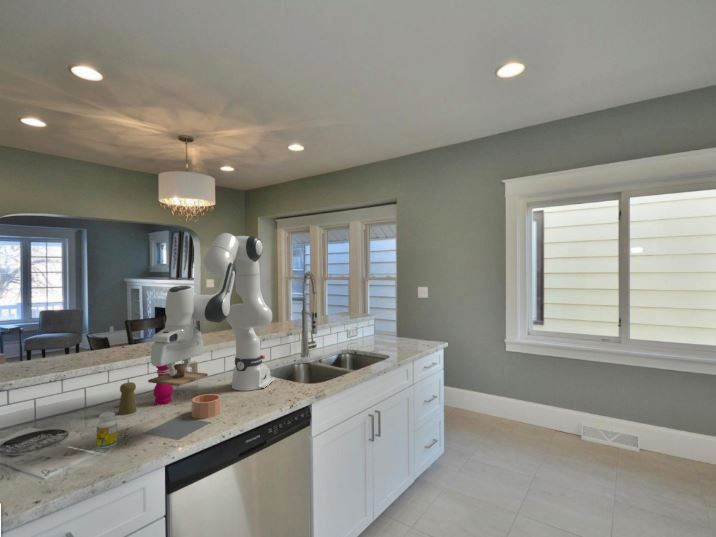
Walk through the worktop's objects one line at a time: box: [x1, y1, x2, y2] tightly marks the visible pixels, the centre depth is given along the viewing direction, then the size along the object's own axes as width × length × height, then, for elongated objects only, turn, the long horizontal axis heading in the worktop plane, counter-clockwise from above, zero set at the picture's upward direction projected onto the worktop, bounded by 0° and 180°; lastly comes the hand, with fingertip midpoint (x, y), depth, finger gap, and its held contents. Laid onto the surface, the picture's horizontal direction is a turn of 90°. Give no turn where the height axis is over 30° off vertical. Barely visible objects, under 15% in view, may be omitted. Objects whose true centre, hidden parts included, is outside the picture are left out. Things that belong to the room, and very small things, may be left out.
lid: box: [147, 363, 208, 387], centre depth 128 cm, size 13×13×5 cm
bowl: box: [191, 393, 222, 420], centre depth 141 cm, size 10×10×6 cm
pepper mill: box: [152, 365, 174, 406], centre depth 154 cm, size 7×7×20 cm
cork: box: [117, 381, 137, 416], centre depth 142 cm, size 6×6×11 cm
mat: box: [142, 416, 212, 441], centre depth 127 cm, size 15×15×1 cm
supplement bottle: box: [95, 411, 118, 449], centre depth 115 cm, size 5×5×10 cm
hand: (178, 373), depth 128 cm, fingers closed on lid, 3 cm apart
